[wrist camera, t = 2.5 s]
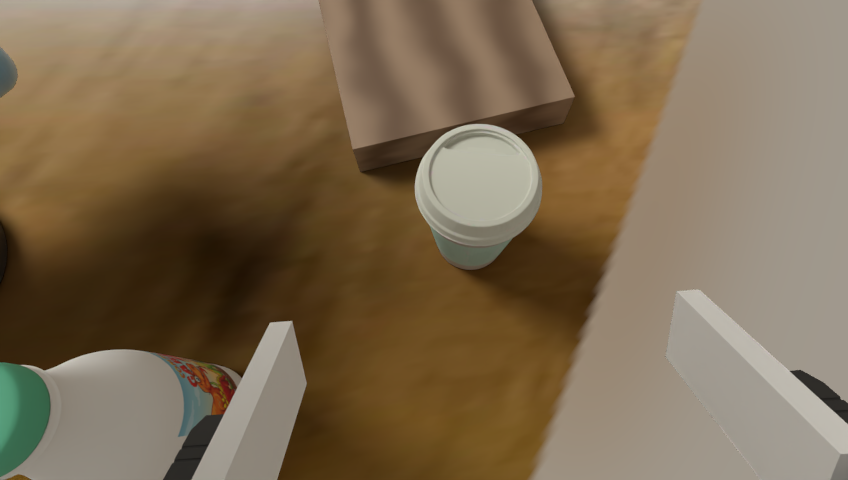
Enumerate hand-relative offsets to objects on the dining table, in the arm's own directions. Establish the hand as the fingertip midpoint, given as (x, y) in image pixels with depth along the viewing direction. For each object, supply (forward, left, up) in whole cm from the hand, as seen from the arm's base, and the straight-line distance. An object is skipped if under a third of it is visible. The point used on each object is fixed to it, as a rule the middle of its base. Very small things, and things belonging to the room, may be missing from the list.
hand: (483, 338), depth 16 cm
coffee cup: (+4, +11, -22) cm, 25 cm away
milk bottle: (-20, +2, -22) cm, 30 cm away
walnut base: (+6, +30, -22) cm, 38 cm away
